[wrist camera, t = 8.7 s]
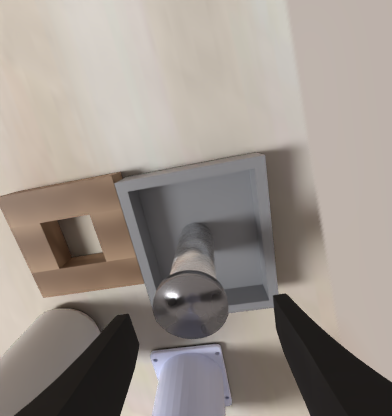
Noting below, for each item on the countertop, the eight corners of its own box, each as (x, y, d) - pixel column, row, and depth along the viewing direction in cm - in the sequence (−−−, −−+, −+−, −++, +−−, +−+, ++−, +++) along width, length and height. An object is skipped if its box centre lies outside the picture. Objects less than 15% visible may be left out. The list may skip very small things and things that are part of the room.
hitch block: (149, 270, 22) (144, 283, 20) (56, 284, 23) (43, 297, 21) (120, 171, 19) (111, 175, 17) (15, 191, 20) (-5, 197, 18)
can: (106, 307, 24) (14, 467, 12) (105, 359, 26) (27, 533, 15) (36, 297, 24) (-121, 447, 12) (41, 349, 26) (-87, 517, 14)
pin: (222, 254, 20) (233, 334, 12) (179, 261, 21) (162, 342, 12) (214, 213, 19) (221, 271, 11) (169, 221, 19) (143, 283, 11)
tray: (269, 284, 22) (279, 306, 19) (162, 299, 23) (156, 322, 20) (255, 152, 18) (265, 154, 15) (127, 176, 19) (114, 183, 16)
